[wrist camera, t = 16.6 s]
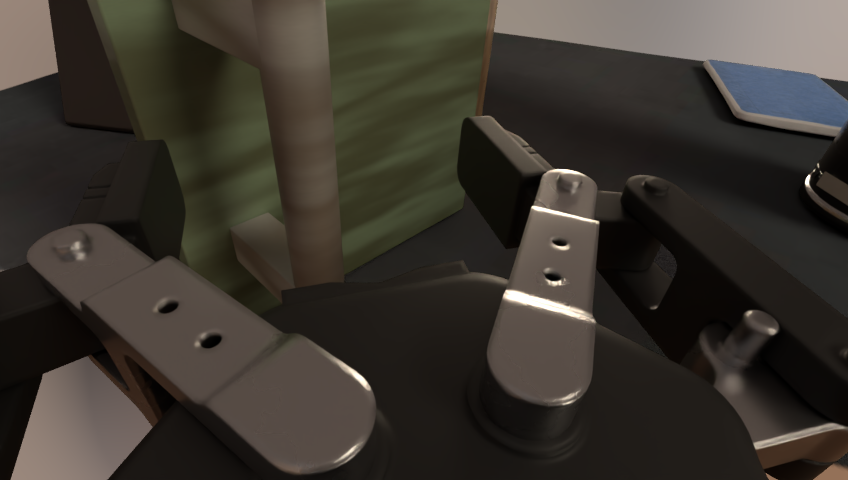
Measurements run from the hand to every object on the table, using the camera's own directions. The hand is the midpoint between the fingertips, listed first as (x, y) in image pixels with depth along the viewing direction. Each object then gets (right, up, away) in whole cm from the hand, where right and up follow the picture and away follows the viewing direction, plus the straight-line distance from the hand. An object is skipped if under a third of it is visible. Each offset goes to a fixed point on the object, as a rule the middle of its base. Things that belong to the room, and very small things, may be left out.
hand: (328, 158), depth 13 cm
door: (+1, -5, +10) cm, 11 cm away
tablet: (+40, +12, +36) cm, 56 cm away
